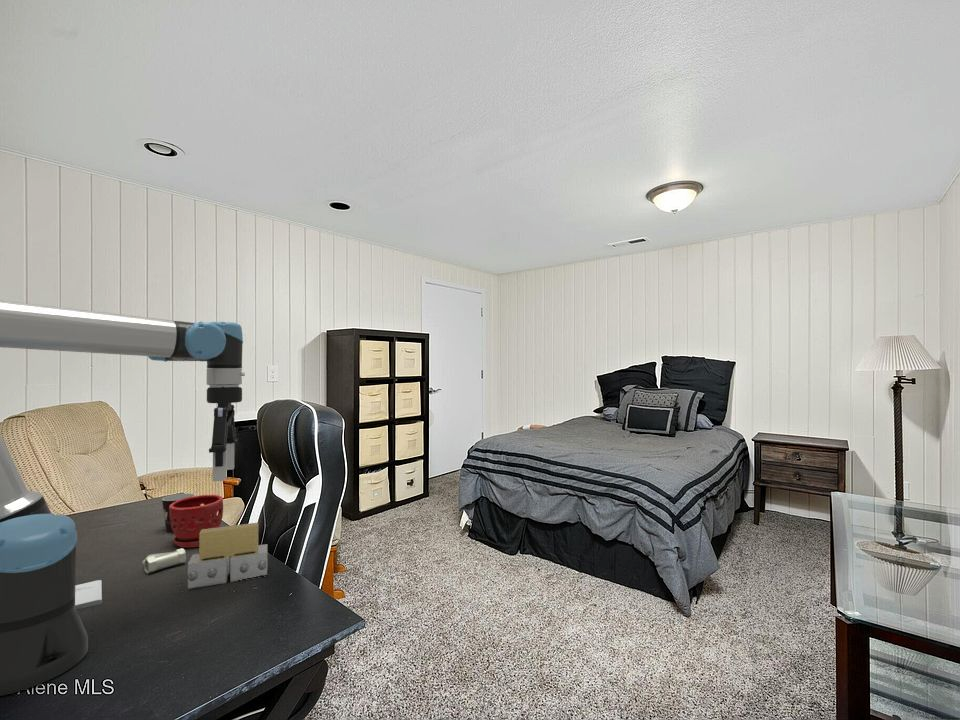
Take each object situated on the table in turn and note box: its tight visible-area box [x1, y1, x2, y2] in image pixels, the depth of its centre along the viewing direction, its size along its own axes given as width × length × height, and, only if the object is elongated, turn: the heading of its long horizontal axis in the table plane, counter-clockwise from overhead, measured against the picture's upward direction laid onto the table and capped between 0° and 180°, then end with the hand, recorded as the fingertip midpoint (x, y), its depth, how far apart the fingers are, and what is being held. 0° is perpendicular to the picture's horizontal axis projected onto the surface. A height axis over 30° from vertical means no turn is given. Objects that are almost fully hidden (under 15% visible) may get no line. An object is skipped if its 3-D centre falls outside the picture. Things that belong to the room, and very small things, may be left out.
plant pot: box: [169, 494, 224, 549], centre depth 134 cm, size 13×13×12 cm
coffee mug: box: [161, 492, 196, 534], centre depth 144 cm, size 12×9×10 cm
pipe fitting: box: [142, 547, 187, 575], centre depth 117 cm, size 8×4×7 cm
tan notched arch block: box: [198, 522, 259, 560], centre depth 110 cm, size 3×12×11 cm, turn 113°
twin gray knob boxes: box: [187, 543, 268, 590], centre depth 110 cm, size 7×16×6 cm, turn 113°
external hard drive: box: [75, 579, 103, 611], centre depth 100 cm, size 2×8×12 cm
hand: (224, 474), depth 113 cm, fingers open, 13 cm apart
